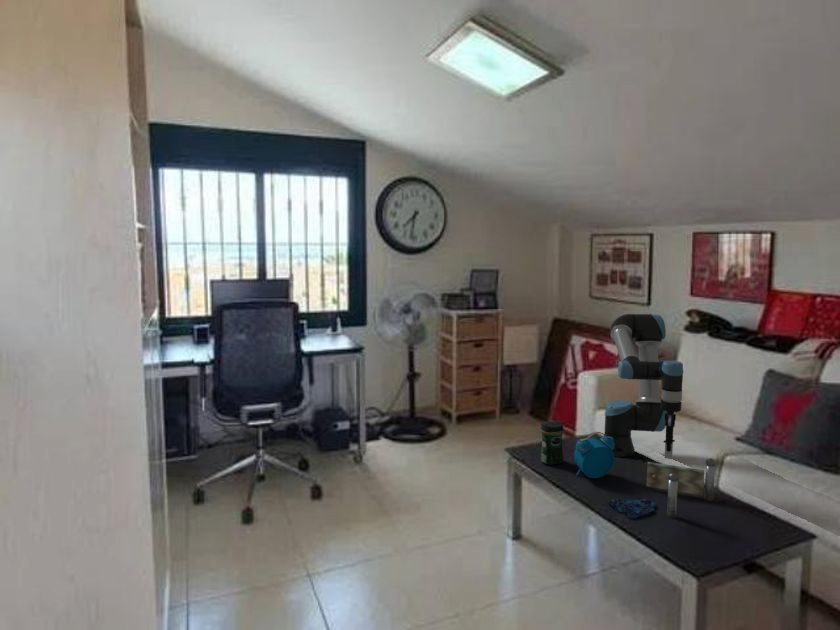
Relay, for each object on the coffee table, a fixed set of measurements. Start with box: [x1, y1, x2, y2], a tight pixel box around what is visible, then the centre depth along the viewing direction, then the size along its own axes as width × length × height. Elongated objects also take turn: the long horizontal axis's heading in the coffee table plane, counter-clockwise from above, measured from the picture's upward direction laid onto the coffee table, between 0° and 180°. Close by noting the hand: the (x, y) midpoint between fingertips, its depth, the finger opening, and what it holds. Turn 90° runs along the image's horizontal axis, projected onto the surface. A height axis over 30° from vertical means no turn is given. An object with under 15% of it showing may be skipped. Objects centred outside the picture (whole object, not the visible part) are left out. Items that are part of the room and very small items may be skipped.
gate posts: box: [666, 458, 717, 519], centre depth 211 cm, size 27×3×16 cm, turn 124°
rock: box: [607, 498, 656, 520], centre depth 211 cm, size 15×17×2 cm
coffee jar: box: [539, 420, 564, 466], centre depth 255 cm, size 10×8×19 cm
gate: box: [646, 461, 705, 496], centre depth 222 cm, size 20×3×9 cm, turn 64°
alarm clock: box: [573, 431, 615, 479], centre depth 239 cm, size 17×10×20 cm, turn 105°
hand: (668, 458), depth 230 cm, fingers closed
